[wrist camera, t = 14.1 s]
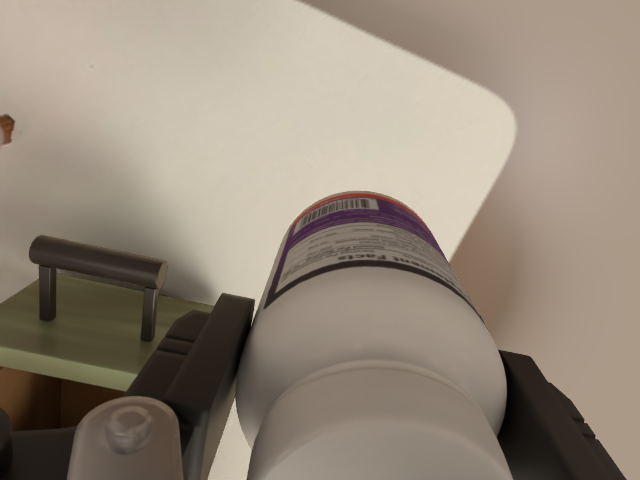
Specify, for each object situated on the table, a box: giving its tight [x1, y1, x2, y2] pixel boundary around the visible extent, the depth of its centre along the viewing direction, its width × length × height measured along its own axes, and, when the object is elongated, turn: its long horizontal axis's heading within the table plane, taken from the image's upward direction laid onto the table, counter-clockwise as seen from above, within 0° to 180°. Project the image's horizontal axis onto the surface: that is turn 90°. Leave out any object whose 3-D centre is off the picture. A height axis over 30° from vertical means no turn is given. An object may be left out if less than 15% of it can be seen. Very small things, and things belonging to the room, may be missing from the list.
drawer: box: [0, 235, 214, 432], centre depth 27 cm, size 18×11×8 cm, turn 168°
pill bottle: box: [235, 191, 513, 480], centre depth 11 cm, size 5×5×10 cm
